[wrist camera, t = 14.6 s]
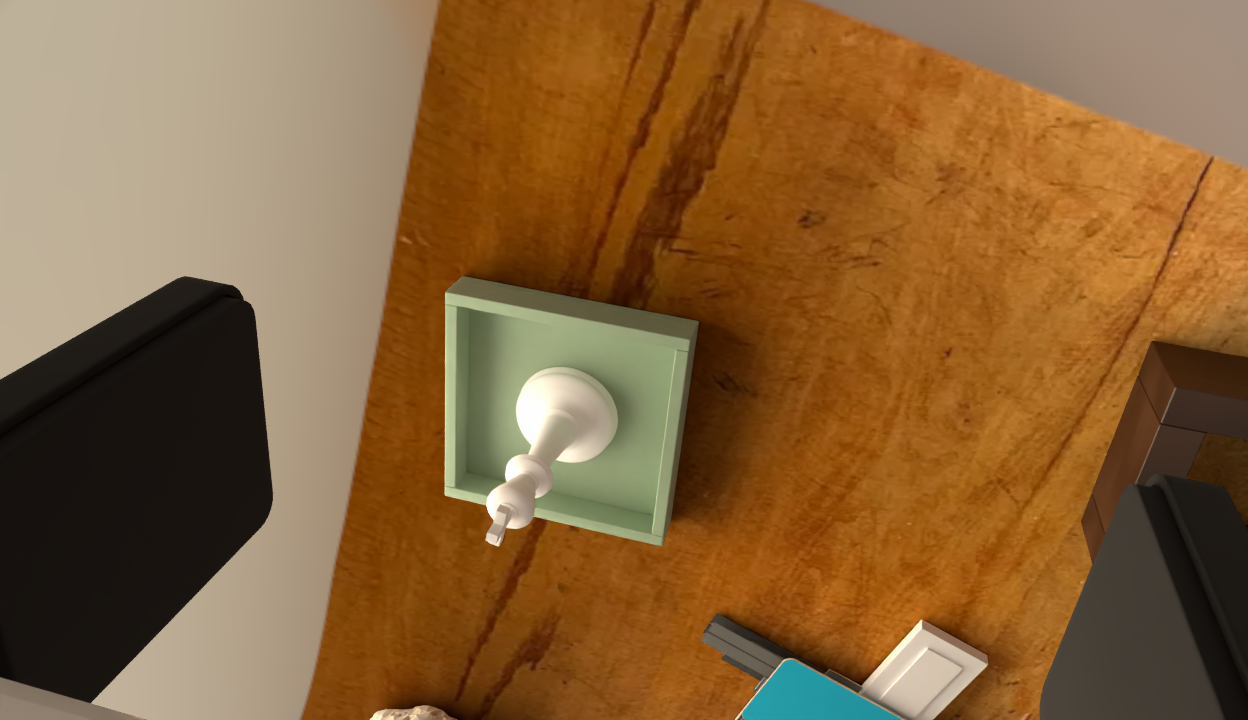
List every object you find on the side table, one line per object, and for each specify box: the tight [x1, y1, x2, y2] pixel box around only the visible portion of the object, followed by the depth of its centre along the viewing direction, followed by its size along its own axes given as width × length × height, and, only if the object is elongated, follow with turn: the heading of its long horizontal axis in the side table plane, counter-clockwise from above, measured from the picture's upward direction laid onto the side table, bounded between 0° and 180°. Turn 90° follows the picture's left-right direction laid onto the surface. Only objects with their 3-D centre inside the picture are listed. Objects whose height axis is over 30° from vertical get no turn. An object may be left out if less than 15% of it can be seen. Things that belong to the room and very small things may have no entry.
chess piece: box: [486, 367, 618, 547], centre depth 42 cm, size 5×5×10 cm
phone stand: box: [701, 614, 988, 720], centre depth 49 cm, size 20×12×2 cm, turn 65°
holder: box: [1081, 341, 1248, 563], centre depth 38 cm, size 9×9×4 cm
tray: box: [445, 276, 699, 546], centre depth 46 cm, size 11×11×2 cm
